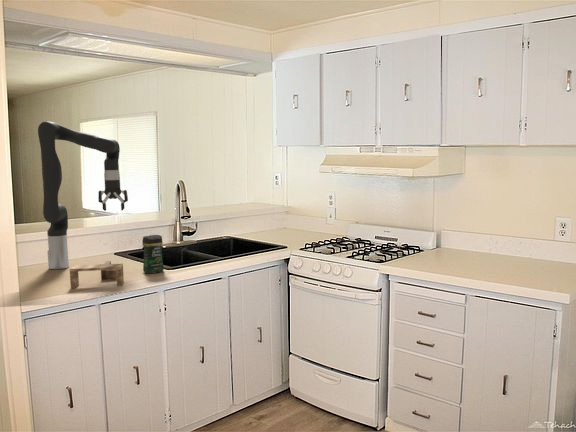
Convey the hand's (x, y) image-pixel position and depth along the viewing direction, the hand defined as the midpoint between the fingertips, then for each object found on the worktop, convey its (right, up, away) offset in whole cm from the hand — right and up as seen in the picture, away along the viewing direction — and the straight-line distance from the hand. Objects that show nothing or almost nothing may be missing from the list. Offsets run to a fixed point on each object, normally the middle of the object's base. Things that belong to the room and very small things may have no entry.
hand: (113, 210), depth 282 cm
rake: (+3, -32, -12) cm, 34 cm away
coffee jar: (+22, -31, -7) cm, 39 cm away
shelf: (+3, -34, -32) cm, 47 cm away
